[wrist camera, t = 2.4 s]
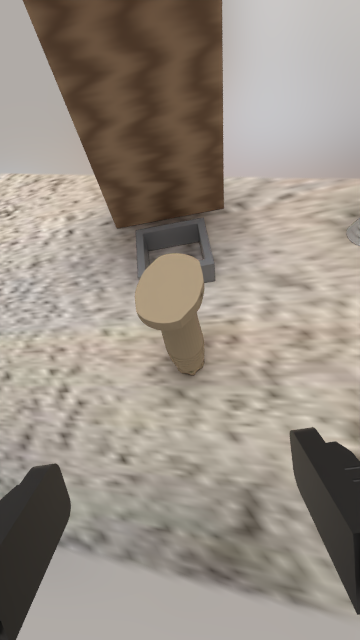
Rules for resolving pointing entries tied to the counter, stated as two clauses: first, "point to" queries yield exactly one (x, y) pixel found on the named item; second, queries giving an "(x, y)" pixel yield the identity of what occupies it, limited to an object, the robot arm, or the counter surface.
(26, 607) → the robot arm
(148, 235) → the socket
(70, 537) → the counter surface
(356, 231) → the chalice
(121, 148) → the wooden l-shaped bracket
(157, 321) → the tan headed rod
